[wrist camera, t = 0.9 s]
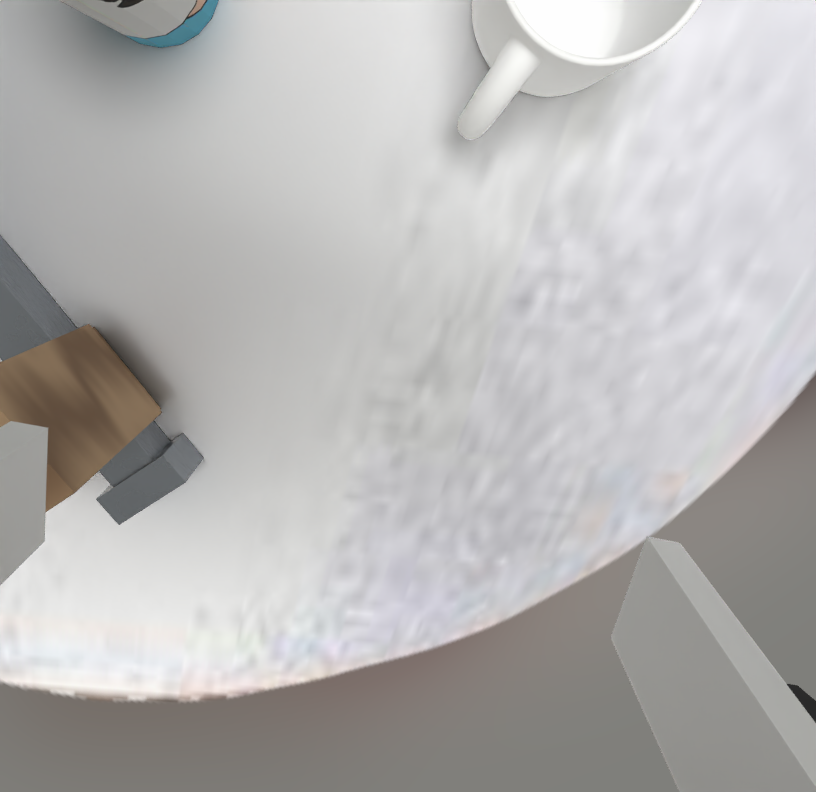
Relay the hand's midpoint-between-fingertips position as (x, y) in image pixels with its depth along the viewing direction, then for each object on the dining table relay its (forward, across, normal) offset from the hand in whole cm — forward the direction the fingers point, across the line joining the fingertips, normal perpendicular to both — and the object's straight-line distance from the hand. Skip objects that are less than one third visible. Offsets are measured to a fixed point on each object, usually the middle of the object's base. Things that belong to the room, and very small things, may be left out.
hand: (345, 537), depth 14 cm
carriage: (+25, -16, -8) cm, 31 cm away
